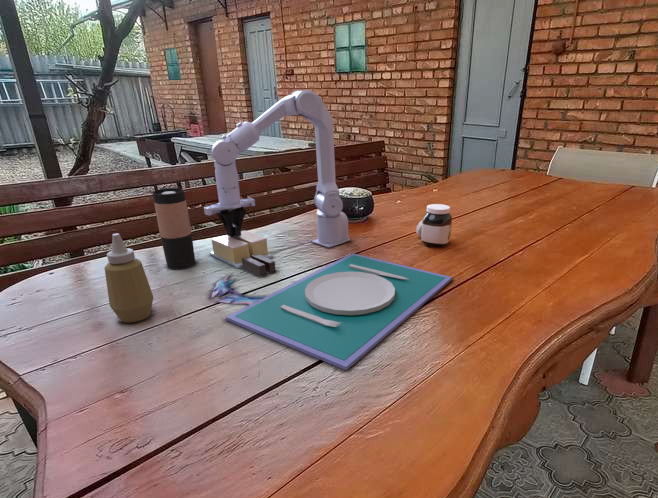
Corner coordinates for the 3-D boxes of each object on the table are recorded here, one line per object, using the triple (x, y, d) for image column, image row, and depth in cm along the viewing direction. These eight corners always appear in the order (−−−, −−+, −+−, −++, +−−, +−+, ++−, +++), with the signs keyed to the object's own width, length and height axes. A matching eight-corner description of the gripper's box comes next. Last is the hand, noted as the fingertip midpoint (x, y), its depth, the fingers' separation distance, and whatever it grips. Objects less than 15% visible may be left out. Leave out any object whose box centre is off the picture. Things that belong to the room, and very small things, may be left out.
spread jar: (441, 250, 125) (444, 212, 120) (406, 244, 130) (408, 207, 126) (455, 239, 134) (459, 203, 130) (422, 233, 140) (424, 199, 135)
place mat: (346, 370, 71) (346, 359, 71) (226, 320, 87) (225, 310, 86) (451, 280, 106) (452, 271, 105) (352, 255, 121) (352, 248, 120)
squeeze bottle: (113, 329, 84) (90, 243, 76) (114, 312, 90) (92, 231, 83) (158, 320, 87) (139, 237, 80) (155, 304, 94) (138, 225, 86)
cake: (243, 245, 129) (241, 228, 127) (272, 257, 120) (271, 239, 118) (210, 254, 122) (207, 237, 120) (238, 268, 112) (236, 249, 110)
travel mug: (159, 267, 113) (144, 192, 105) (180, 257, 120) (168, 186, 112) (182, 271, 111) (168, 195, 103) (202, 261, 117) (191, 189, 109)
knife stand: (258, 264, 115) (257, 253, 114) (275, 271, 110) (274, 261, 109) (242, 268, 112) (241, 258, 111) (260, 277, 107) (259, 266, 106)
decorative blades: (195, 284, 102) (233, 272, 108) (195, 287, 103) (233, 275, 109) (232, 313, 89) (273, 298, 95) (232, 316, 89) (273, 301, 95)
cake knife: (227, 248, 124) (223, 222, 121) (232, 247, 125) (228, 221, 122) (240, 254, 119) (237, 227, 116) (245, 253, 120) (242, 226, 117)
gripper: (210, 193, 107) (218, 244, 113) (259, 185, 117) (263, 232, 122) (197, 189, 112) (204, 238, 117) (244, 181, 121) (249, 227, 127)
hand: (234, 235), depth 120 cm, fingers closed on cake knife, 2 cm apart
